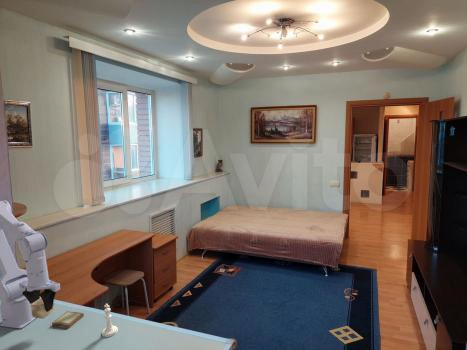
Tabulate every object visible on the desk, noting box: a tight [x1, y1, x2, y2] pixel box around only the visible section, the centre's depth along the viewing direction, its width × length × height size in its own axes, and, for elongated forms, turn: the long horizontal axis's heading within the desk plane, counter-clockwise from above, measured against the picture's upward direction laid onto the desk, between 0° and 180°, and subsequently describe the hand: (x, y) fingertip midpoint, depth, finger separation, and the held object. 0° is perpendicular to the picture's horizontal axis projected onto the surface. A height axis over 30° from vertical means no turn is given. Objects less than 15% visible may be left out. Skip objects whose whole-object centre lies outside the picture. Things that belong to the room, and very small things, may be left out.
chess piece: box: [101, 303, 119, 338], centre depth 103 cm, size 5×5×10 cm
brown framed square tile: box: [51, 311, 85, 329], centre depth 112 cm, size 7×7×1 cm
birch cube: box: [30, 297, 56, 319], centre depth 104 cm, size 4×4×4 cm
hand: (43, 309), depth 105 cm, fingers closed on birch cube, 4 cm apart
